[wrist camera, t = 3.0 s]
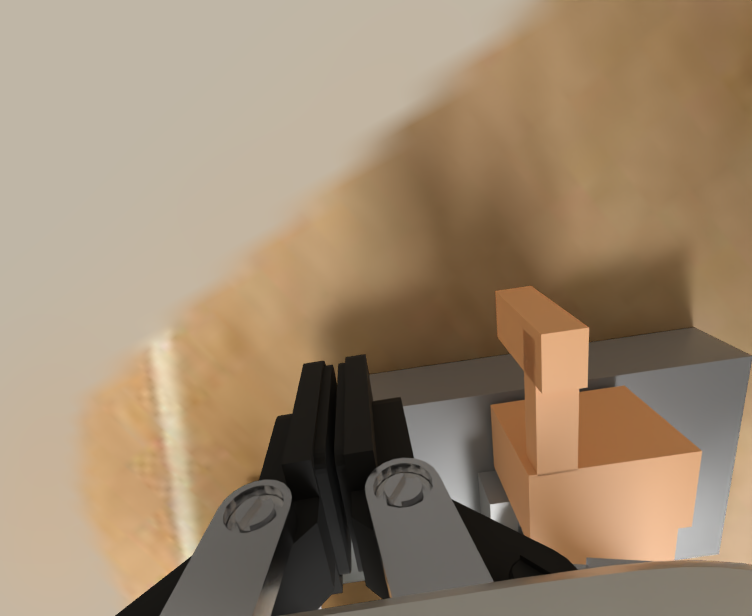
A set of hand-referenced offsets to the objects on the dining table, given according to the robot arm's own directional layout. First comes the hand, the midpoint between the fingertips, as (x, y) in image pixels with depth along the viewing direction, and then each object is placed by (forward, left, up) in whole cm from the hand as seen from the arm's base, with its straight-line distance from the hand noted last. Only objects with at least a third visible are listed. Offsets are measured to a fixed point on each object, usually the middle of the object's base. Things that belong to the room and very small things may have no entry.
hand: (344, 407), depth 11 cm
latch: (-9, +5, -6) cm, 12 cm away
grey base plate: (-9, +11, -10) cm, 17 cm away
